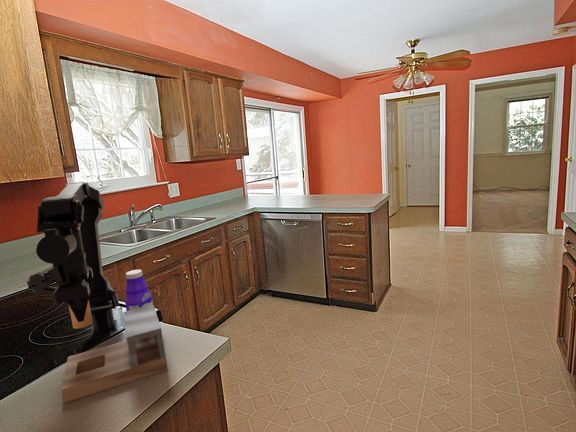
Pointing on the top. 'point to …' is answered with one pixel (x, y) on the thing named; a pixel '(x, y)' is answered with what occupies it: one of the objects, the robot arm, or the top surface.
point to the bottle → (137, 291)
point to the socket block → (118, 358)
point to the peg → (87, 318)
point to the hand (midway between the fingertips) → (81, 317)
